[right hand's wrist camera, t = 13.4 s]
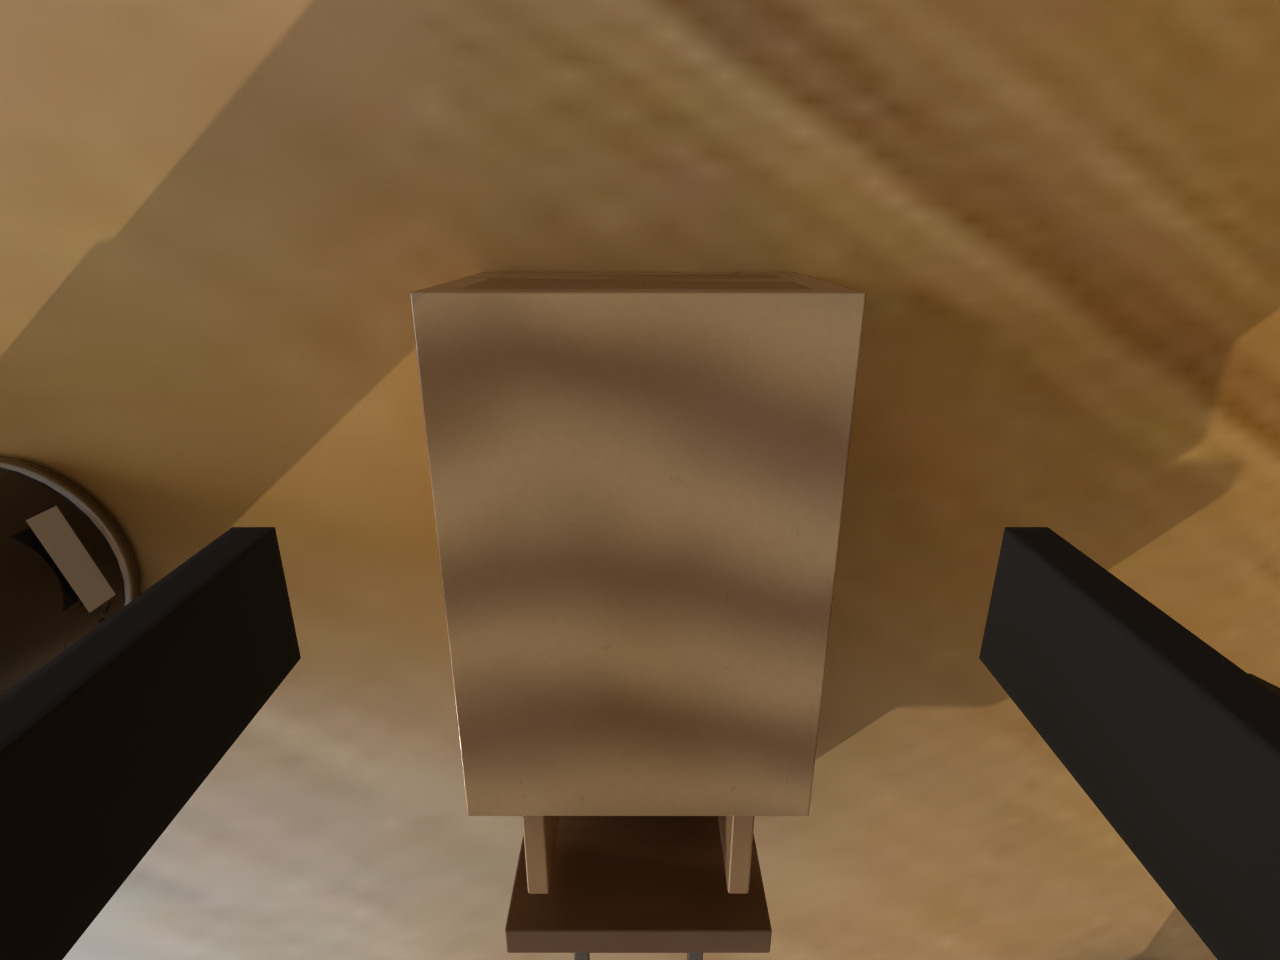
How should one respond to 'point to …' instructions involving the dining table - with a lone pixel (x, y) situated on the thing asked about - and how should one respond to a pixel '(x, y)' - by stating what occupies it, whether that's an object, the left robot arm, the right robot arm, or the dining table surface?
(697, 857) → the drawer
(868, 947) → the dining table surface
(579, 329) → the cabinet
